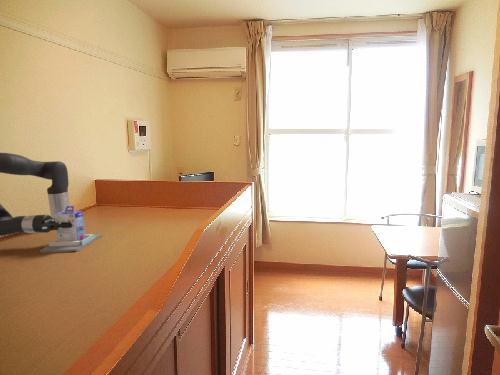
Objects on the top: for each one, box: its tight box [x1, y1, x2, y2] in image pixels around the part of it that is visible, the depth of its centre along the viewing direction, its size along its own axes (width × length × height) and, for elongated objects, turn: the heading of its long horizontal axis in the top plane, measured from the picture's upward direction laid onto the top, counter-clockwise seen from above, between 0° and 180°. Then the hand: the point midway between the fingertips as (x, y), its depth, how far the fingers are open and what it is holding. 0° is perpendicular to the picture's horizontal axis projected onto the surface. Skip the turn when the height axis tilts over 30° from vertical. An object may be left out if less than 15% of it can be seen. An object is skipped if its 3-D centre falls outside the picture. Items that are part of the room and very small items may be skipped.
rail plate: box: [39, 233, 103, 254], centre depth 147 cm, size 20×15×2 cm
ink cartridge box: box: [55, 205, 86, 242], centre depth 146 cm, size 10×6×14 cm, turn 78°
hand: (75, 222), depth 145 cm, fingers closed on ink cartridge box, 6 cm apart
